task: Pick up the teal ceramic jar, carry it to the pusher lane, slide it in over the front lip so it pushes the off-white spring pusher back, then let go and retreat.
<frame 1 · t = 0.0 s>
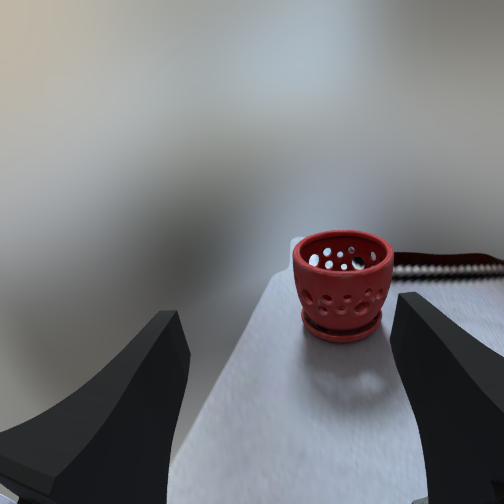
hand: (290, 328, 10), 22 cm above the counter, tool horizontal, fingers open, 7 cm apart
plant pot: (341, 325, 45), on the counter
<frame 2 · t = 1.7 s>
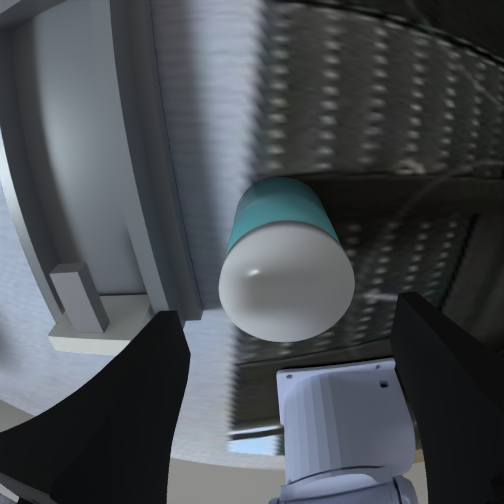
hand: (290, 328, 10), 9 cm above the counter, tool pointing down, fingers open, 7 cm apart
pusher: (91, 296, 17), point 3 cm above the counter, slide at 0.0 cm
lane: (87, 176, 17), on the counter
jar: (280, 219, 18), on the counter
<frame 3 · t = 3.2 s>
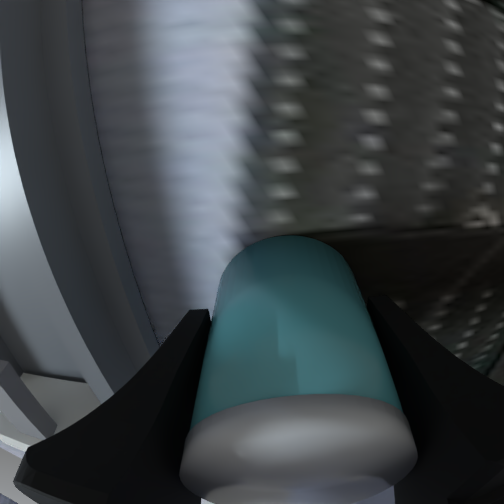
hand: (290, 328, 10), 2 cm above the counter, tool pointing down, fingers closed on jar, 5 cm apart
pusher: (31, 392, 11), point 3 cm above the counter, slide at 0.0 cm
lane: (10, 228, 11), on the counter
jar: (287, 298, 12), on the counter, touching gripper
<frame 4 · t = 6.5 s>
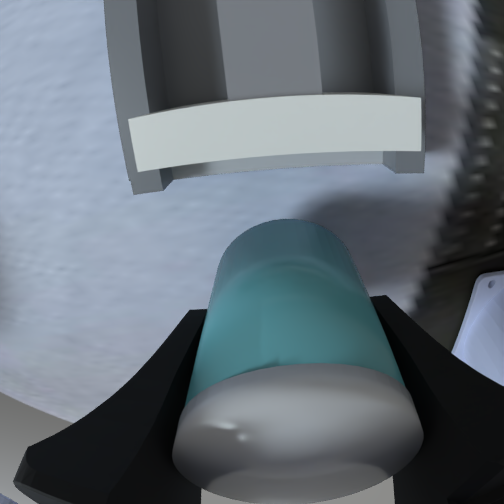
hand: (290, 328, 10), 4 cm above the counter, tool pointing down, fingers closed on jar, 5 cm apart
pusher: (268, 45, 7), point 3 cm above the counter, slide at 0.0 cm
jar: (286, 284, 12), point 2 cm above the counter, touching gripper
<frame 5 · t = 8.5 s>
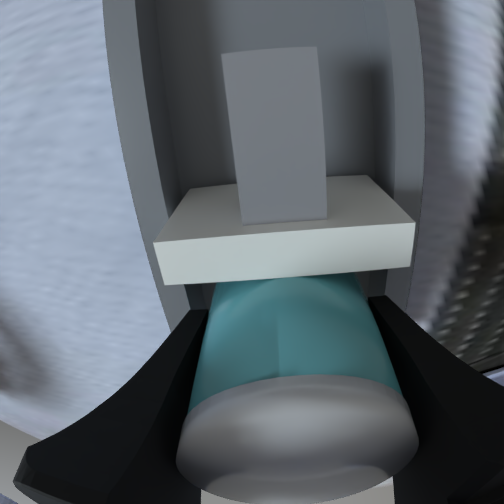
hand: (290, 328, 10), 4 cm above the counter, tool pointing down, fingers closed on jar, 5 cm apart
pusher: (277, 151, 8), point 3 cm above the counter, slide at 6.1 cm, touching jar
lane: (273, 131, 11), on the counter
jar: (286, 288, 12), point 2 cm above the counter, touching gripper, pusher
when the fingers open (4 cm above the counter, at t = 9.8 s): jar stays where it is, resting on lane, pusher.
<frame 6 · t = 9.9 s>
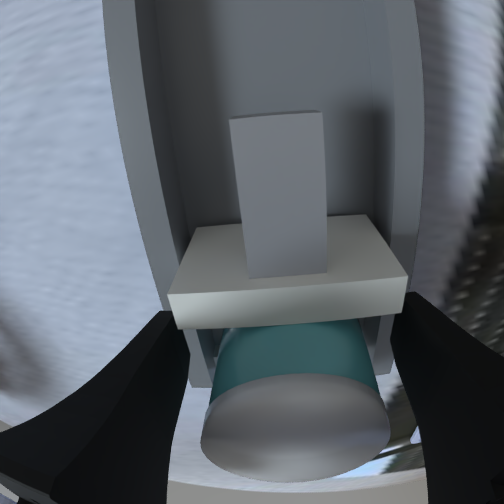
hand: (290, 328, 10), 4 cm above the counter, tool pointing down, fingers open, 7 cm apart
pusher: (281, 203, 9), point 3 cm above the counter, slide at 4.6 cm, touching jar
lane: (273, 131, 11), on the counter
jar: (289, 299, 14), point 1 cm above the counter, touching lane, pusher
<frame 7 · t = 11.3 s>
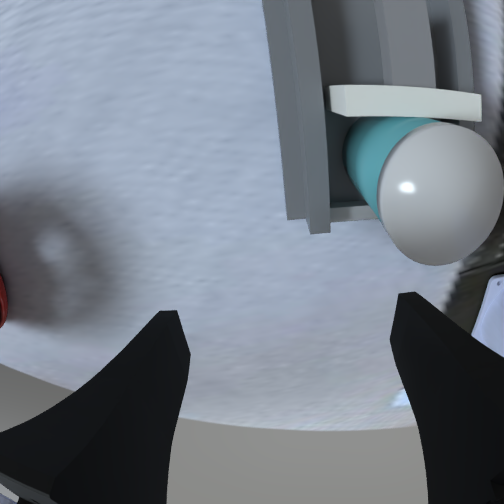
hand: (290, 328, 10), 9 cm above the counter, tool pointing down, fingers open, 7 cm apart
pusher: (397, 56, 11), point 3 cm above the counter, slide at 4.6 cm, touching jar
lane: (370, 34, 13), on the counter
jar: (387, 155, 15), point 1 cm above the counter, touching lane, pusher
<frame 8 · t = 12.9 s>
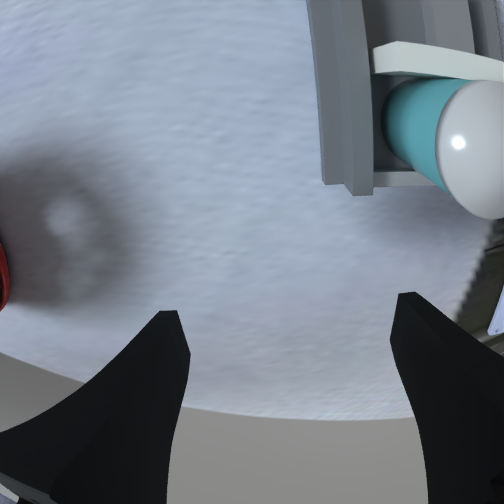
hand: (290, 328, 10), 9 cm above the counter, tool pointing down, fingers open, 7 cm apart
pusher: (436, 26, 10), point 3 cm above the counter, slide at 4.6 cm, touching jar
lane: (404, 9, 12), on the counter
jar: (423, 123, 14), point 1 cm above the counter, touching lane, pusher
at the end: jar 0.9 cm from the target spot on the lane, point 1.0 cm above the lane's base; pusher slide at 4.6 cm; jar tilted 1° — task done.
